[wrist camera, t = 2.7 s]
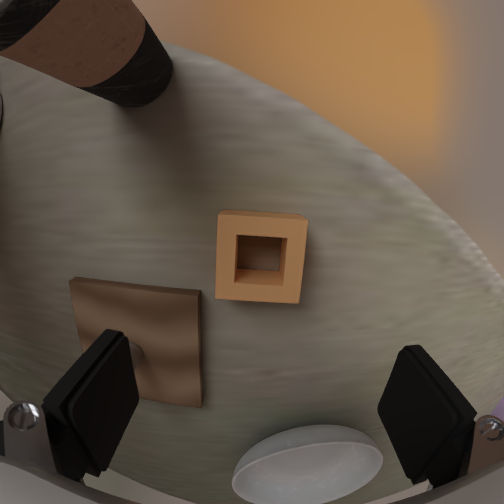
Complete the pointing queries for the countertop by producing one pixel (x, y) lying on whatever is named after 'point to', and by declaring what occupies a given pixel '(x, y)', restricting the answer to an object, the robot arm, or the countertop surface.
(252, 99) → the countertop surface
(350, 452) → the serving bowl
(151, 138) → the countertop surface
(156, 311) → the post stand
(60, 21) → the travel mug
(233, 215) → the collar
